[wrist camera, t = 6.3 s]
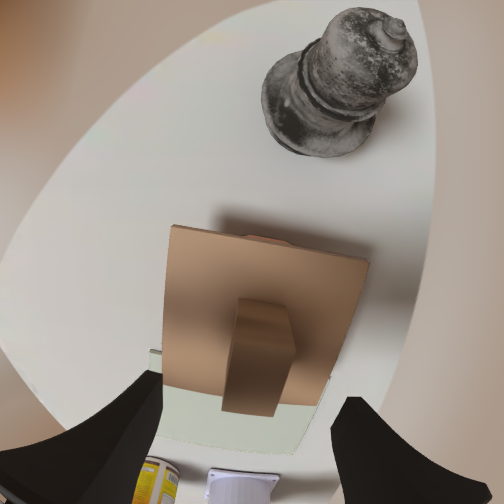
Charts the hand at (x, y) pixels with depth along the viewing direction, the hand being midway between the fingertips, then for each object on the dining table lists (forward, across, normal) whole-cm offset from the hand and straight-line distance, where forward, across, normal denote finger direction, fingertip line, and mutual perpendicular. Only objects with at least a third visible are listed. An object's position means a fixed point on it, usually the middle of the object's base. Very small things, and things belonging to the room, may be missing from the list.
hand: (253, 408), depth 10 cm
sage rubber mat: (+9, 0, +11) cm, 14 cm away
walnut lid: (+6, 0, 0) cm, 6 cm away
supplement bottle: (+10, +7, +24) cm, 27 cm away
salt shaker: (+10, -1, -13) cm, 16 cm away
